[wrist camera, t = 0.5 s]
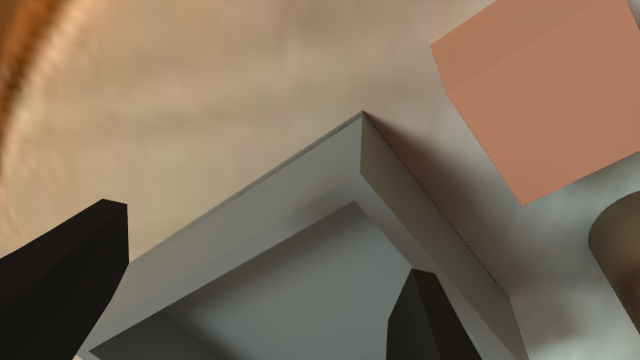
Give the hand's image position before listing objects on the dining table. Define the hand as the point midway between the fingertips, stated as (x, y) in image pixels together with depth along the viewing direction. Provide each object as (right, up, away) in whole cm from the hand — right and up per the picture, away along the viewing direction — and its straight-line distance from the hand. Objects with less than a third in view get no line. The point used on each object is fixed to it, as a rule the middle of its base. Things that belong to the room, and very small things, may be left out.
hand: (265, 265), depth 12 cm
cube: (+9, +7, +6) cm, 13 cm away
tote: (0, -4, +14) cm, 15 cm away
